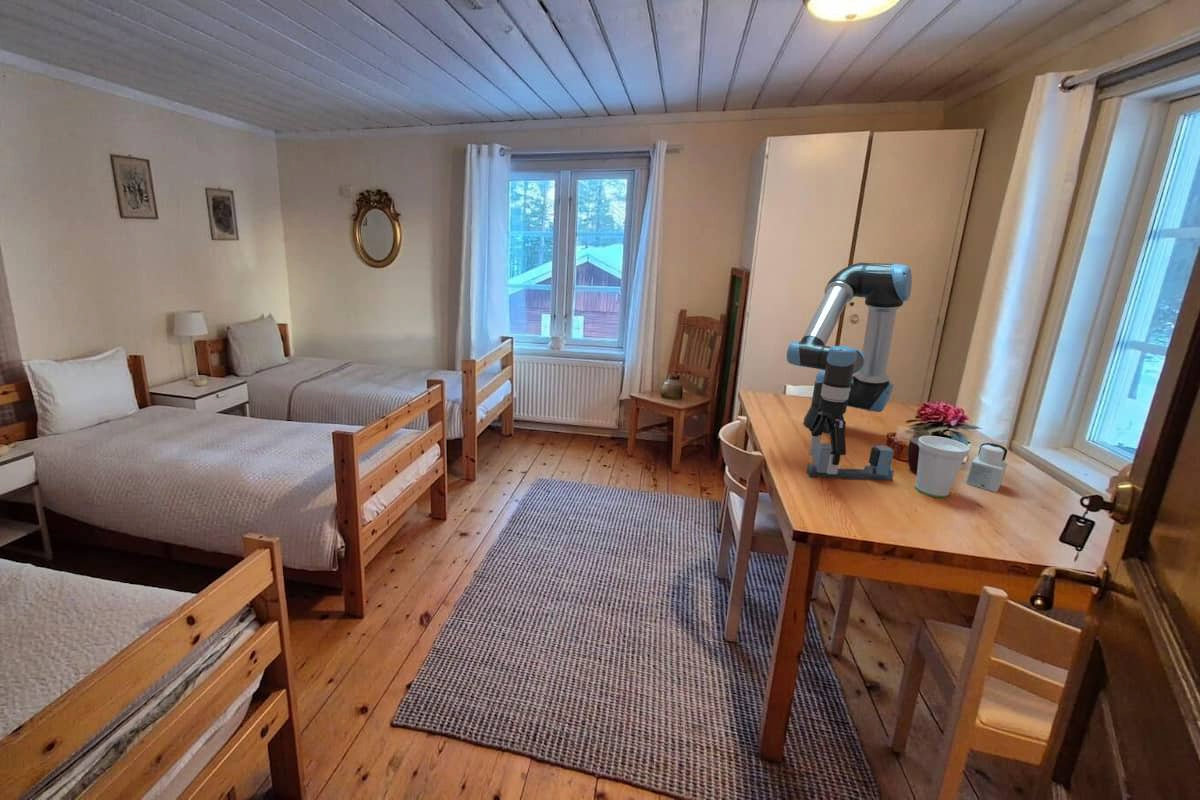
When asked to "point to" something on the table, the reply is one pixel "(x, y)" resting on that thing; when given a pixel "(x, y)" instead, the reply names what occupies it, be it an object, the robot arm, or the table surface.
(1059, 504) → the table surface
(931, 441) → the cup
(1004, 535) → the table surface
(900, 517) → the table surface
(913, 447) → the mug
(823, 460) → the finger right
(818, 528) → the table surface
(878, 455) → the rail
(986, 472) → the container
